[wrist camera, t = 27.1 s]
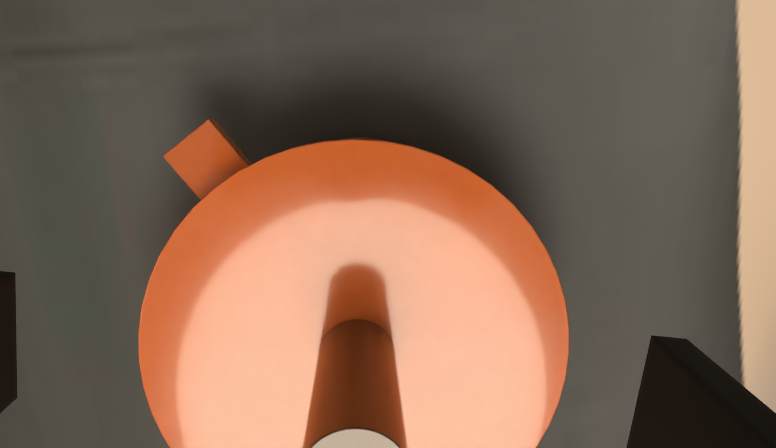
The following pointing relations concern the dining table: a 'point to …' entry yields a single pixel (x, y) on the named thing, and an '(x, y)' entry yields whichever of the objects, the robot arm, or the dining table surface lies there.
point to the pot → (208, 158)
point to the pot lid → (354, 309)
